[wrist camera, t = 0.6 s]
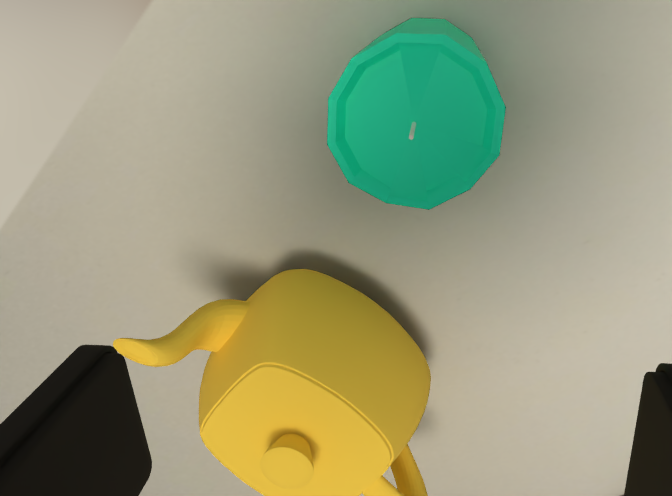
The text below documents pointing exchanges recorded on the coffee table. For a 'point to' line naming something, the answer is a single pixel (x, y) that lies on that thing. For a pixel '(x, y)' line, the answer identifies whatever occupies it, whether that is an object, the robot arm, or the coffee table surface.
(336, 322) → the teapot
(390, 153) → the candle
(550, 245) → the coffee table surface
